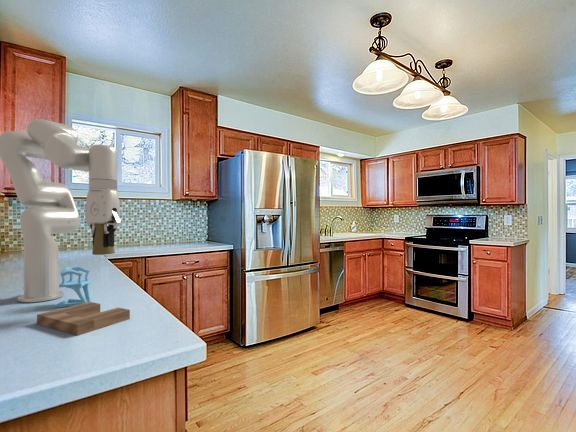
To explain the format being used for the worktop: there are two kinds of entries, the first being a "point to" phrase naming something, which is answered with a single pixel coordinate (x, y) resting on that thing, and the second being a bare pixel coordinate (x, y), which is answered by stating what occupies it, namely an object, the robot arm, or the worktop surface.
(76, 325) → the notched board
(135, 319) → the worktop surface
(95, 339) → the worktop surface
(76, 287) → the chair
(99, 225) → the cork
